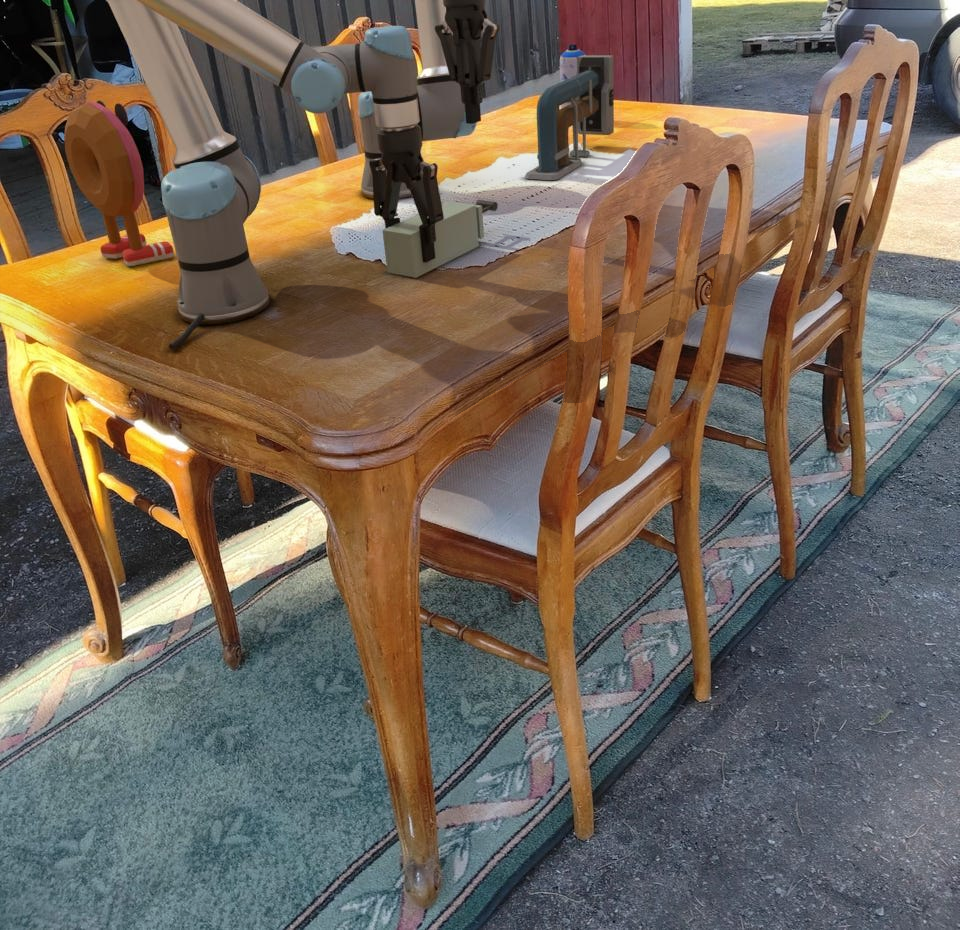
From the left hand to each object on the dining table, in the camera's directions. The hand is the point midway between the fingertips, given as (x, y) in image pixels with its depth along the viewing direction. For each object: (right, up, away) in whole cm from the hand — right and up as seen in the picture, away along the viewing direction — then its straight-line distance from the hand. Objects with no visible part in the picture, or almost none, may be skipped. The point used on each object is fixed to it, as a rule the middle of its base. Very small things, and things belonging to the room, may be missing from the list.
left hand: (413, 257), depth 176 cm
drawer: (+7, +4, +9) cm, 12 cm away
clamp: (+34, +36, +61) cm, 79 cm away
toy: (-57, +4, +20) cm, 61 cm away
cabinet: (+4, +1, +5) cm, 6 cm away
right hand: (+11, +26, +4) cm, 29 cm away
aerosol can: (+39, +61, +102) cm, 126 cm away
